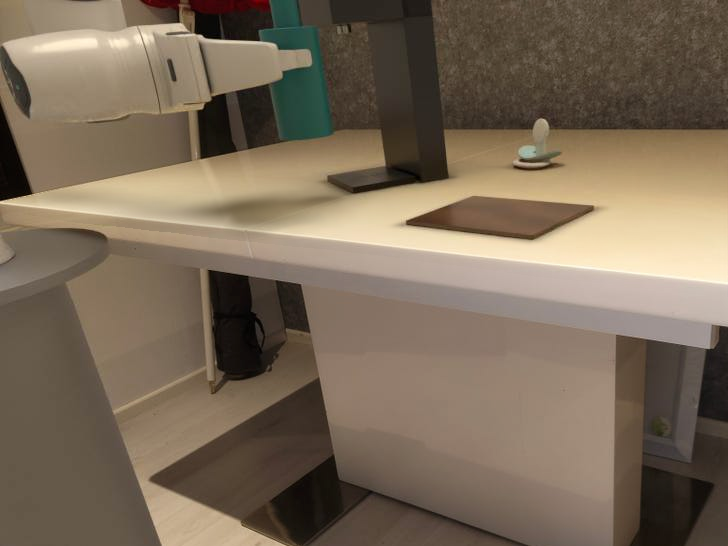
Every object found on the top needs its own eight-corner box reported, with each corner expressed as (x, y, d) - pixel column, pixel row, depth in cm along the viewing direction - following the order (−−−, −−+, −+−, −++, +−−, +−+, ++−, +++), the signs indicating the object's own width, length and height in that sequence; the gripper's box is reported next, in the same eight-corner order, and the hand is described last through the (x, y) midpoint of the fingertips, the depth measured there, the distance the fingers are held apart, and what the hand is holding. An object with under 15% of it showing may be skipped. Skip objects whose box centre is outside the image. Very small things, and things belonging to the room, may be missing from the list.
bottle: (304, 141, 79) (276, -14, 72) (268, 139, 83) (238, -9, 76) (344, 132, 84) (322, -15, 77) (309, 131, 88) (284, -9, 81)
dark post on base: (355, 194, 88) (319, -35, 77) (326, 180, 100) (290, -21, 89) (448, 177, 94) (427, -39, 82) (410, 165, 105) (386, -26, 94)
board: (532, 239, 63) (532, 235, 63) (406, 224, 72) (405, 220, 72) (594, 209, 71) (594, 205, 71) (473, 199, 80) (473, 195, 80)
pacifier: (533, 173, 93) (568, 164, 95) (530, 125, 90) (566, 118, 92) (504, 167, 98) (537, 159, 101) (500, 122, 96) (534, 115, 98)
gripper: (173, 95, 84) (284, 83, 90) (197, 103, 68) (330, 89, 73) (159, 39, 81) (274, 30, 87) (180, 34, 65) (320, 24, 70)
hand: (300, 57), depth 80 cm, fingers closed on bottle, 6 cm apart
